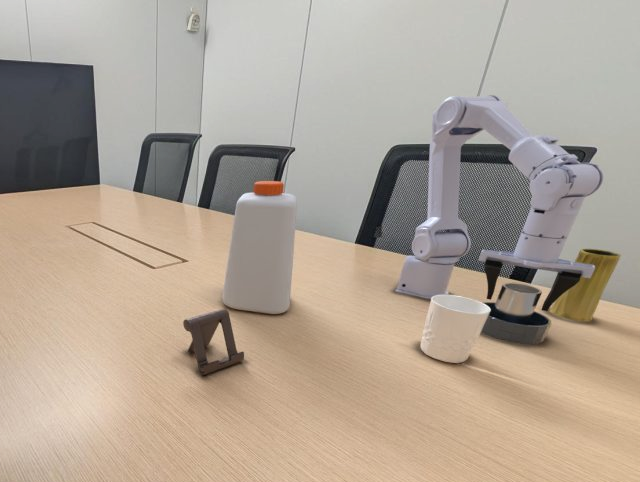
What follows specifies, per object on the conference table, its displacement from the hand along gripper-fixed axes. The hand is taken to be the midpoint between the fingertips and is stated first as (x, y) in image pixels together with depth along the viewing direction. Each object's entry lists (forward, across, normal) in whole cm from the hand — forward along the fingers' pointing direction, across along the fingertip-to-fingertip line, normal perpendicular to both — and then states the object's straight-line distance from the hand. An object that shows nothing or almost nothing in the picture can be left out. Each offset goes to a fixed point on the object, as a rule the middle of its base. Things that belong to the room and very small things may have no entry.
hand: (515, 303), depth 72 cm
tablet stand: (+6, -36, -49) cm, 61 cm away
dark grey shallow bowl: (+6, 0, 0) cm, 6 cm away
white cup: (+6, -7, -18) cm, 20 cm away
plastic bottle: (+6, -43, -20) cm, 48 cm away
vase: (+6, +9, +18) cm, 21 cm away
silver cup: (+6, 0, 0) cm, 6 cm away
